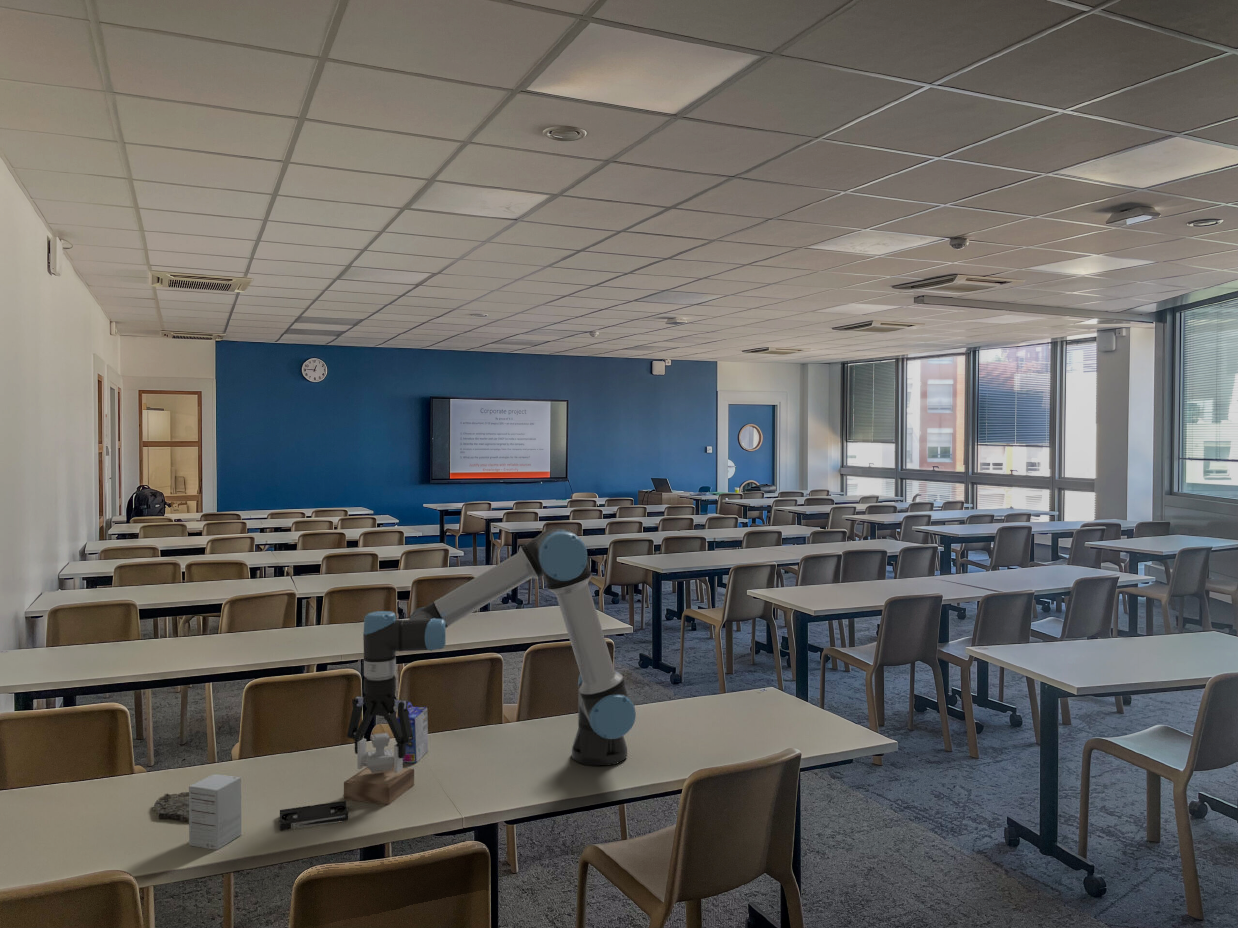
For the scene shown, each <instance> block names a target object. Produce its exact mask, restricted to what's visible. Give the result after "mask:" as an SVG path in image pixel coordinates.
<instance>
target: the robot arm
mask: <svg viewBox="0 0 1238 928" xmlns="http://www.w3.org/2000/svg"><path fill="white" fill-rule="evenodd" d="M592 575H593V574H592V573H591V569H590V565H589V562H588V551H587V547H586V545H585V543H584V541H583V540H582V538H580V537H579V536H578V535H577V534H576V533H574V532H572V531H569V530H568V529H565V528H563V527H552V528H548V529H546V530H544V531H543V532H541V533H540V534H538V535H537V536H535V537H534V538H533V539H531V540H530V541H528V542H527V543H525V544H523V545H521V546H519V549H518V551H517V553H515V554H514V555H511V556H510V557H508V558H507V559H505V560H503V561H502V562H500V563H498V564H496V565H495V566H493V567H491V568H490V569H488V570H486V571H484V572H483V573H481V574H479V575H477V576H476V577H474V578H473V579H471V580H469V581H468V582H467V581H466V582H465V583H463V584H462V585H460V586H459V587H457V588H455V589H453V590H452V591H450V592H448V593H447V594H445V595H444V596H441V597H439V598H438V599H436V600H435V601H433V602H432V603H429V604H428V605H426V606H424V607H419V608H417V609H416V610H414V611H413V612H412V613H411V615H410V616H409V618H408V619H397V617H396V615H397V614H396V613H395V612H393V611H390V610H387V611H386V610H379V611H373V612H369V613H367V614H366V615H365V616H364V619H363V632H362V633H363V636H362V637H363V638H362V639H363V676H364V679H363V693H364V694H363V695H364V696H363V697H362V696H361V695H357V696H355V698H353V699H352V701H351V705H352V711H351V715H350V718H349V719H350V720H349V725H348V728H347V729H348V730H347V733H346V737H347V738H348V739H352V740H353V741H354V754H356V755H357V769H358V770H361V769H363V768H365V766H362V765H361V761H362V760H363V759H365V754H366V753H367V738H364V737H365V734H366V732H367V730H368V728H369V726H370V724H371V722H372V720H373V717H374V716H375V717H376V716H378V717H379V716H380V717H383V718H384V720H385V721H386V722H387V725H388V727H389V729H390V732H391V733H392V735H393V738H394V740H395V742H396V744H394V745H393V755H394V766H393V767H394V773H398V772H399V771H400V770H402V769H403V768H404V766H403V765H404V762H403V757H405V755H406V743H408V742H410V741H411V740H413V734H412V729H411V725H410V720H409V716H408V711H407V706H408V702H409V701H408V699H403V700H400V699H397V696H396V690H397V677H396V676H395V675H396V673H397V668H396V667H397V665H396V664H397V660H396V659H397V657H396V656H397V655H396V654H397V653H396V652H405V651H406V652H412V651H413V652H414V651H417V652H418V651H430V652H432V651H434V650H435V651H436V650H442V649H443V650H444V648H445V647H446V643H447V642H446V629H447V628H448V627H450V626H451V625H453V624H455V623H457V622H458V621H460V620H462V619H464V618H465V617H467V616H468V615H470V614H472V613H474V612H475V611H478V610H479V609H480V608H483V607H484V606H486V605H488V604H489V603H491V602H493V601H494V600H496V599H498V598H500V597H501V596H503V595H506V594H507V593H508V592H510V591H511V590H513V589H515V588H517V587H519V586H520V585H522V584H523V583H526V582H527V581H529V580H531V579H532V578H533V579H536V580H537V579H539V578H541V577H543V578H544V581H545V585H546V586H547V591H550V592H551V593H553V594H555V596H556V600H557V603H558V606H559V608H560V612H561V616H562V618H563V623H564V625H565V629H566V632H567V635H568V638H569V641H570V645H571V648H572V651H573V653H574V654H573V655H574V658H575V660H576V664H577V667H578V670H579V675H578V681H577V682H578V683H577V687H578V694H577V695H578V698H577V699H578V705H577V706H578V707H577V708H578V709H577V710H578V715H577V716H578V718H577V719H578V723H577V726H578V728H577V731H576V734H575V737H574V740H573V744H572V746H571V757H572V760H573V761H574V762H577V763H578V762H579V764H581V763H582V765H585V764H587V766H592V765H598V766H597V767H600V766H599V765H607V766H609V765H608V764H613V765H615V764H614V763H617V762H620V761H622V760H624V759H625V758H626V757H627V758H628V746H627V742H626V740H625V735H626V734H628V733H629V732H630V731H631V729H632V727H633V726H634V725H635V722H636V719H637V717H636V716H637V714H636V712H637V711H636V707H635V704H634V703H633V701H632V700H631V698H630V696H629V693H628V689H627V686H626V683H625V680H624V676H623V675H622V674H621V673H620V672H619V671H616V670H615V668H614V663H613V661H612V658H611V654H610V651H609V648H608V645H607V641H606V639H605V635H604V632H603V629H602V625H601V622H600V618H599V615H598V612H597V610H596V605H595V603H594V599H593V596H592V592H591V589H590V586H589V583H590V580H591V578H592ZM363 705H365V708H366V710H365V712H364V713H363V718H362V720H361V717H362V711H363ZM395 707H396V708H395ZM408 707H409V706H408ZM395 709H396V710H397V712H396V710H395ZM398 717H399V721H400V724H399V722H398V719H397V718H398ZM360 720H361V722H360ZM627 758H626V759H627ZM626 759H625V760H626ZM625 760H624V761H625ZM622 762H623V761H622ZM364 763H366V762H364ZM620 763H621V762H620ZM617 764H618V763H617Z"/></svg>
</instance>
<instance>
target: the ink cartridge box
mask: <svg viewBox="0 0 1238 928" xmlns="http://www.w3.org/2000/svg"><path fill="white" fill-rule="evenodd" d="M407 711H408V716H409V720H410V725H411V729H412V734H413V740H411V741H410V742H408V743H406V755H405V757H403V763H405V762H407V763H408V764H417V763H418V762H419V761H420V760H421V759H422V758H423V757H424V755H425V754H427V752H428V751H429V731H428V727H429V726H428V707H427V706H426V707H425V706H423V707H421V706H413V704H412V703H411V701H408V706H407ZM397 719H398V722H399V724H400V721H399V716H397ZM407 763H406V764H407Z"/></svg>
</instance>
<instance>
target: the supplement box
mask: <svg viewBox="0 0 1238 928" xmlns="http://www.w3.org/2000/svg"><path fill="white" fill-rule="evenodd" d="M188 792H189V823H188V828H189V829H188V831H189V833H188V835H189V836H188V838H189V840H188V841H189V842H188V843H189V845H190V846H192V847H197V848H204V849H209V850H215V851H216V850H217V851H218V850H219V849H220V848H223V847H224V846H226V845H227V844H229V843H231V842H232V841H234V840H235V839H237V838H239V837H240V836H242V777H239V776H233V775H232V776H231V775H224V774H218V773H217V774H216V773H215V774H214V773H213V774H210V775H209V776H207V777H205V778H203V779H200V780H199V781H196V782H195V783H193V784H191V785H189V786H188Z"/></svg>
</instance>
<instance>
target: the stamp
mask: <svg viewBox="0 0 1238 928" xmlns="http://www.w3.org/2000/svg"><path fill="white" fill-rule="evenodd" d="M390 739H391V737H390V734H389V733H388V732H382V733H381V732H380V733H376V734H375V733H374V734H370V741H371V744H372V747H373V748H374V749H375V750H371V751H366V754H365V759H363V760H362V761H361V765H362V766H364V767H368V768H369V770H370V771H371V773H376V772H384V771H389V770H391V768H392V767H394V751H393V749H391V748H388V749H387V748H386V747H388V746H389V743H390ZM385 748H386V749H385ZM364 762H366V763H364Z"/></svg>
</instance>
